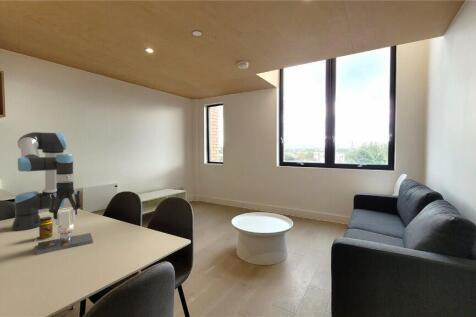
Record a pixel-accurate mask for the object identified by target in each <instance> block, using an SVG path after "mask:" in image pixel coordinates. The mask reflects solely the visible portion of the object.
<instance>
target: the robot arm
mask: <svg viewBox="0 0 476 317" xmlns="http://www.w3.org/2000/svg"><path fill="white" fill-rule="evenodd" d="M17 148H18V149H20V154H21V157H18V159H17V170H18V171H19V172H26V173H27V172H28V173H29V172H41V171H42V172H43V171H44V179H45V181H44V188H43V189H42V190H41V192H39V191H37V190H35V191H27V192H22V193H19V194H17V195H15V197H14V202H13V203H14V216H15V217H14V220H13V222H12V224H11V230H12V231H25V230H26V231H27V230H32V229H36V228H38V227H39V223H40V219H41V218H42V217H41V216H40V213H39V211H40V210H42V211H43V210H47V209H48V212H49V213H51V214H52V216H53V219H54V220H55V225H56V226H60V225H61V224H60V212H59V209H60V208H62V207H64V206H65V204H66V199H68V201H69V203H70V205H71V207H72V208H71V209H70V215H71V221H72V222H76V216H77V215H78V209H79V208H81V207H82V206H81V199H80V192H81V191H80V190H75V189H74V155H73V154H71V153H64V151H66V150H67V141H66V137H65V135H64V134H63V133H57V132H38V131H35V132H34V131H33V132H28V133H26V134H24V135H22V136H21V137H19V139H18V141H17ZM39 150H41V152H42V153H43V154H44V157H43V156H42V157H40V154H39ZM73 194H74V198H73Z"/></svg>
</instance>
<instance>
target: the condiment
mask: <svg viewBox="0 0 476 317" xmlns="http://www.w3.org/2000/svg"><path fill="white" fill-rule="evenodd" d="M40 218H41V219H40V223H39V229H38V230H39V232H38V233H39V235H38V236H36V237H35V238H34V240H33V242H37V241H38V242H39V241H44V240H45V241H46V240H52V239H53V238H54V236H55V233H54V232H53V221H52V217H51V216H44V217H40ZM53 233H54V234H53Z"/></svg>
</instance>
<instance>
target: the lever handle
mask: <svg viewBox="0 0 476 317" xmlns="http://www.w3.org/2000/svg"><path fill="white" fill-rule="evenodd" d="M70 208H71V207H65V208H62V207H61V211H60V222H61V224H60V225H57V234H60V233H68V232H71V233H72V232H73V231H74V223H71V209H70Z"/></svg>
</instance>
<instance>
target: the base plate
mask: <svg viewBox="0 0 476 317" xmlns="http://www.w3.org/2000/svg"><path fill="white" fill-rule="evenodd" d="M59 235H60V236H59V237H60V238H57V239H49V240H45V241H44V240H43V241H40V242H39V241H38V243H37V248H36V251H35V252H36V253H35V254H36V255H40V254H45V253H50V252H55V251H60V250H64V249H65V250H66V249H69V248H74V247H79V246H84V245H89V244H93V243H94V239H93V236H92V234H91V232H90V233H89V232H88V233H84V234H77V235H72V231H71V232H68V233H59Z"/></svg>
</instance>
